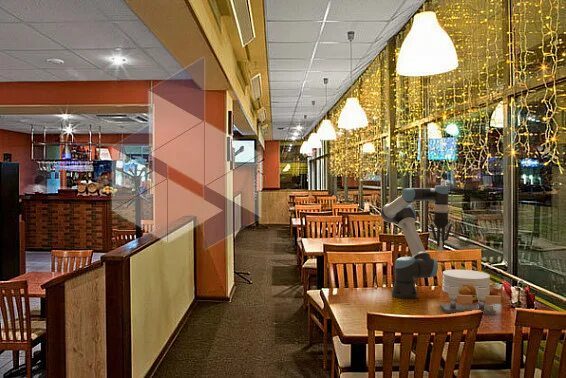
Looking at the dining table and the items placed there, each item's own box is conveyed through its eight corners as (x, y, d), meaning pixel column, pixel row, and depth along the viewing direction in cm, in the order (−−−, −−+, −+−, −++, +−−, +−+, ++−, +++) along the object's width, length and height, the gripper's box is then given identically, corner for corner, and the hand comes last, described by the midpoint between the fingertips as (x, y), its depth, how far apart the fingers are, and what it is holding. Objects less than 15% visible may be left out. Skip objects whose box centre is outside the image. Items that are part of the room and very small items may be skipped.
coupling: (449, 303, 250) (449, 287, 250) (447, 300, 254) (448, 285, 254) (473, 304, 248) (473, 288, 248) (471, 302, 252) (471, 286, 252)
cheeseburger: (481, 299, 275) (480, 283, 273) (473, 306, 267) (472, 291, 265) (464, 295, 282) (463, 280, 280) (456, 303, 275) (455, 287, 273)
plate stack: (486, 299, 274) (486, 280, 274) (438, 293, 289) (438, 275, 289) (492, 290, 298) (492, 272, 298) (447, 284, 313) (447, 267, 313)
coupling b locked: (478, 303, 248) (478, 287, 248) (475, 301, 253) (475, 286, 253) (501, 304, 247) (502, 288, 247) (498, 302, 252) (498, 286, 251)
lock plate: (445, 313, 246) (445, 302, 246) (439, 306, 258) (439, 296, 258) (495, 314, 244) (495, 303, 244) (487, 308, 256) (487, 297, 256)
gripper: (431, 212, 264) (430, 253, 265) (454, 212, 263) (453, 253, 264) (428, 211, 272) (427, 250, 273) (450, 211, 271) (450, 251, 272)
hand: (440, 252), depth 268 cm, fingers closed
